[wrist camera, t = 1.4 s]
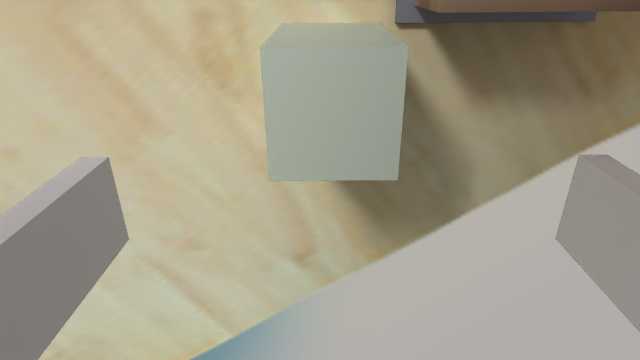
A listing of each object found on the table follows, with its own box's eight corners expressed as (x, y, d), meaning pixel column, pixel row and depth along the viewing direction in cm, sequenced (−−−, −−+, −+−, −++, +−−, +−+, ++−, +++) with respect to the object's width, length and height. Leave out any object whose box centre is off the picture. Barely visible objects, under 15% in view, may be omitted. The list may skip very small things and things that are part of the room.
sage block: (282, 23, 26) (260, 47, 17) (378, 22, 26) (408, 46, 17) (286, 116, 28) (269, 180, 19) (374, 115, 28) (397, 180, 19)
